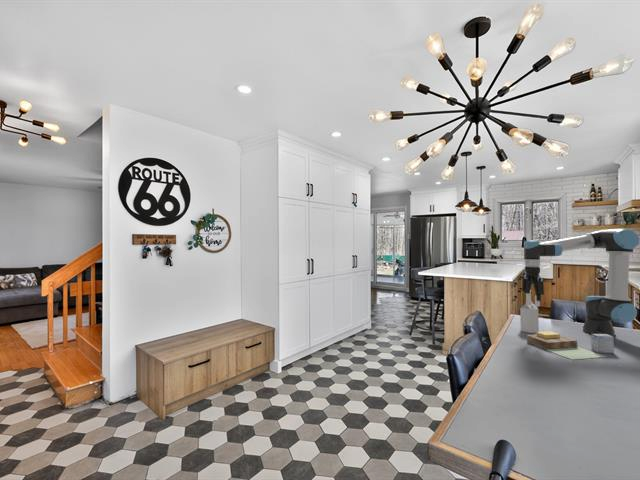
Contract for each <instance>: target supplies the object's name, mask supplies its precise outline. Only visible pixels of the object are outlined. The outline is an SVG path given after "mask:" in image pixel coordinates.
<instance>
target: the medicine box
mask: <svg viewBox="0 0 640 480" xmlns="http://www.w3.org/2000/svg"><path fill="white" fill-rule="evenodd" d="M590 335H591V336H590V339H591V342H590V343H591V344H590V345H591V351H592V352H594V353H597V354H601V353H602V354H604V353H605V354H607V353H608V354H609V353H610V354H613V353H614V352H615V350H614V349H615V347H614V341H615V340H614V336H611V335H608V334H590Z"/></svg>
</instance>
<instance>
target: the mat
mask: <svg viewBox="0 0 640 480" xmlns="http://www.w3.org/2000/svg"><path fill="white" fill-rule="evenodd" d="M546 351H547V352H550V353H553V354H555V355H558V356H561V357H563V358H565V359H568V360H571V361H576V360H588V359H601V358H602V359H603V358H607V356H606V355H603V354H601V353H597V352H595V351H592V350H588V349H585V348H582V347H579V346H577V347H576V348H563V349H550V350H547V349H546Z"/></svg>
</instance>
